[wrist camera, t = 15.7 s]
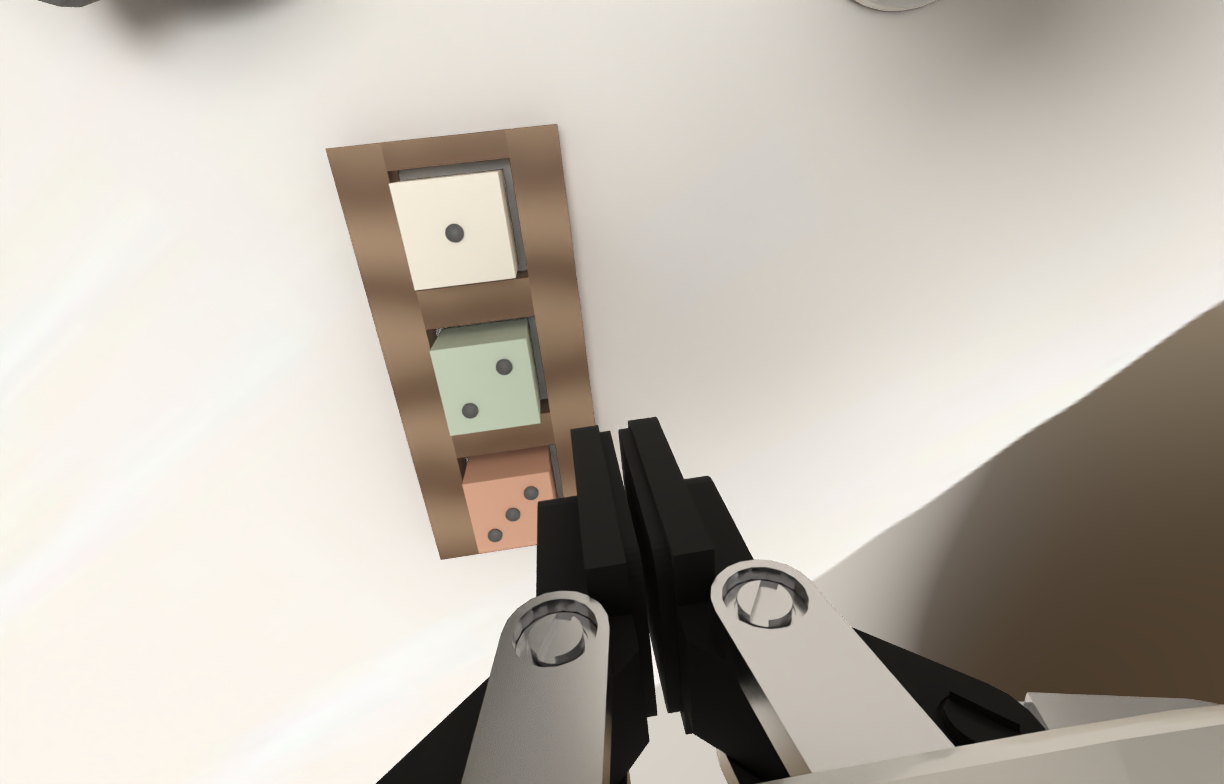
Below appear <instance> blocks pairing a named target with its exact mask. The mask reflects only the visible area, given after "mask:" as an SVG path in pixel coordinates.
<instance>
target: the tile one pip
mask: <svg viewBox="0 0 1224 784" xmlns="http://www.w3.org/2000/svg"><path fill="white" fill-rule="evenodd" d="M389 187H390V191H391V195H392V199H393V203H394V207H395V211H396V216H397V220H398V224H399V228H400V232H401V236H402V240H403V244H404V248H405V252H406V256H407V261H408V265H409V269H410V273H411V277H412V281H413V285H414V289H415V290H423V289H431V288H439V287H447V286H455V285H463V284H471V283H480V282H488V281H496V280H504V279H512V278H516V274H517V269H518V264H519V263H518V257H517V251H516V245H515V239H514V233H513V227H512V221H511V215H510V209H509V203H508V197H507V191H506V185H505V179H504V173H503V169H500V170H491V171H482V172H473V173H464V174H455V175H446V176H437V177H428V178H419V179H410V180H404V181H399V182H394V183H390V184H389Z"/></svg>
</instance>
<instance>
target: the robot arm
mask: <svg viewBox="0 0 1224 784" xmlns="http://www.w3.org/2000/svg"><path fill="white" fill-rule="evenodd" d="M855 1H856V2H858V3H860V4H862V5H863V6H866V7H870V8H874V9H877V10H881V11H904V10H909V9H913V8H918V7H921V6H924V5H926V4H929V3H931V2H934V1H937V0H855ZM570 433H571V442H572V452H573V462H574V471H575V481H576V491H577V496H570V497H563V498H557V499H550V500H543V501H538V506H537V583H536V597H535V598H533V599H530V600H529V601H527V602H526V603H525V604H523V605H522V606H520V607H519V608H517V610H516V611H515V612H514V613H513V614H512V615H511V616H510V617H509V619H508V620H507V622H506V624H505V626H504V628H503V631H502V633H501V636H500V640H499V644H498V647H497V651H496V655H495V659H494V662H493V666H492V670H491V674H490V677H489V678H488V679H486V680H485V681H484V682H483V683H482V684H481V685H480V686H479V687H478V688H477V689H476V690H475V691H474V692H473V693H472V694H471V695H469V696H468V697H467V698H466V699H465V700H464V701H463V702H462V703H461V704H460V705H459V706H458V707H457V708H456V709H455V710H454V711H452V712H451V713H450V714H449V715H448V716H447V717H446V718H445V719H444V720H443V721H442V722H441V723H440V724H439V725H438V726H437V727H435V728H434V729H433V730H432V731H431V732H430V733H429V734H428V735H427V736H426V737H425V738H424V739H423V740H422V741H421V742H419V743H418V744H417V745H416V746H415V747H414V748H413V749H412V750H411V751H410V752H409V753H408V754H407V755H406V756H405V757H404V758H402V759H401V760H400V761H399V762H398V763H397V764H396V765H395V766H394V767H393V768H392V769H391V770H390V771H389V772H388V773H387V774H385V775H384V776H383V777H382V778H381V779H380V780H379V781H378V782H377V783H376V784H631V782H630V774H629V769H630V768H631V766H632V765H633V764H634V762H635V761H636V759H637V758H638V756H639V755H640V754H641V752H642V751H643V750H644V748H645V747H646V745H647V744H648V742H649V734H648V724H647V717H651V716H657V705H656V695H655V685H654V675H653V665H652V655H651V645H650V637H651V642H652V646H653V651H654V655H655V660H656V664H657V669H658V673H659V677H660V682H661V686H662V691H663V695H664V700H665V704H666V708H667V711H668V713H673V712H679V711H680V713H681V717H682V721H683V725H684V729H685V733H686V734H692V733H693V734H695V735H697V736H698V737H700V738H701V739H703V740H704V741H706V742H707V743H709V744H711V745H712V746H714V747H716V748H717V756H718V760H719V764H720V767H721V770H722V772H723V774H724V776H725V778H726V781H727V783H728V784H1224V705H1218V704H1215V703H1210V702H1204V701H1198V700H1192V699H1176V698H1151V697H1127V696H1101V695H1075V694H1052V693H1027V695H1026V698H1025V702H1018V701H1016V700H1015V699H1014V698H1013V697H1011V696H1010V695H1008V694H1007V693H1005V692H1003V691H1001V690H999V689H997V688H995V687H993V686H991V685H989V684H987V683H985V682H982V681H980V680H978V679H975V678H973V677H970V676H968V675H966V674H963V673H961V672H958V671H956V670H953V669H951V668H949V667H946V666H944V665H941V664H939V663H937V662H934V661H932V660H930V659H927V658H925V657H922V656H920V655H917V654H915V653H913V652H910V651H908V650H905V649H903V648H900V647H898V646H896V645H893V644H891V643H888V642H886V641H884V640H881V639H879V638H876V637H874V636H871V635H869V634H867V633H864V632H862V631H859V630H857V629H855V628H852V627H851V626H850V625H849V624H848V623H847V622H846V620H845V619H844V618H843V617H842V616H841V615H840V613H839V612H838V611H837V610H836V609H835V608H834V607H833V606H832V604H831V603H830V602H829V601H828V600H827V599H826V597H825V596H824V595H823V594H822V593H821V592H820V591H819V589H818V588H817V587H816V586H815V585H814V583H813V582H812V581H811V580H809V579H808V578H807V577H806V576H805V575H804V574H803V573H801V572H800V571H798V570H796V569H794V568H792V567H790V566H788V565H786V564H782V563H778V562H775V561H771V560H754V559H753V557H752V555H751V554H750V552H749V550H748V548H747V546H746V544H745V542H744V540H743V538H742V536H741V534H740V532H739V530H738V529H737V527H736V525H735V523H734V521H733V519H732V517H731V515H730V513H729V511H728V509H727V507H726V505H725V504H724V502H723V500H722V498H721V496H720V494H719V492H718V490H717V488H716V486H715V484H714V482H713V481H712V479H711V478H710V477H709V476H703V477H696V478H690V479H683V476H682V474H681V472H680V469H679V467H678V465H677V462H676V460H675V458H674V455H673V453H672V451H671V449H670V446H669V444H668V442H667V439H666V437H665V435H664V432H663V430H662V428H661V426H660V423H659V421H658V419H657V417H652V418H645V419H637V420H630V421H628V428H626V429H619V442H620V451H621V461H622V470H623V479H624V485H623V481H622V477H621V473H620V469H619V465H618V461H617V457H616V453H615V449H614V445H613V441H612V437H611V433H610V431H605V432H599V428H598V425H595V426H588V427H581V428H574V429H570ZM624 488H625V490H624ZM649 633H650V635H649Z"/></svg>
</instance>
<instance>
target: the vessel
mask: <svg viewBox="0 0 1224 784" xmlns="http://www.w3.org/2000/svg"><path fill="white" fill-rule="evenodd" d="M39 1H42V2H46V3H49V4H53V5H56V6H61V7H83V6H85V5H88V4H91V3H93V2H96V1H99V0H39Z"/></svg>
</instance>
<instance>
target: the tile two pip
mask: <svg viewBox="0 0 1224 784" xmlns="http://www.w3.org/2000/svg"><path fill="white" fill-rule="evenodd" d="M430 355H431V359H432V363H433V367H434V371H435V375H436V379H437V384H438V388H439V392H440V396H441V400H442V404H443V408H444V412H445V416H446V420H447V424H448V429H449V433H450V436H453V435H461V434H468V433H475V432H482V431H489V430H496V429H503V428H510V427H517V426H524V425H531V424H538V423H540V390H539V384H538V378H537V372H536V366H535V360H534V353H533V347H532V341H531V335H530V329H529V323H528V318H524V319H516V320H508V321H501V322H493V323H485V324H477V325H470V326H462V327H454V328H446V329H442V330H441V332H440V333H439V335H438V337H437V339H436V341H435V342H434V344H433V346H432V348H431V349H430Z"/></svg>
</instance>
